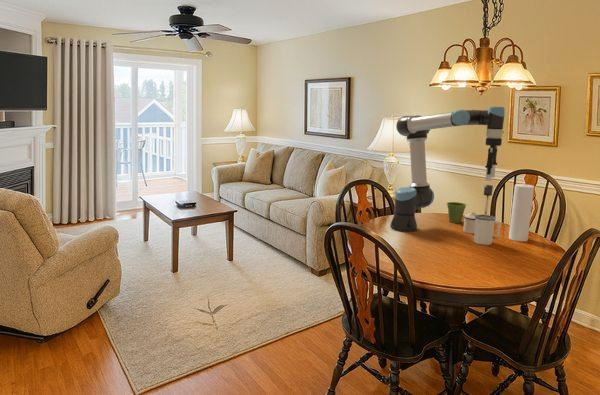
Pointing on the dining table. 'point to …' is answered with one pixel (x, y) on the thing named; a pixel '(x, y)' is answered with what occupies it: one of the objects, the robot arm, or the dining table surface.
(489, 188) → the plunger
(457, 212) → the plant pot
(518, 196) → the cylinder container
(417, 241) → the dining table surface
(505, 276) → the dining table surface
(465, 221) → the teacup with lid
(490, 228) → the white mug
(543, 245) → the dining table surface
